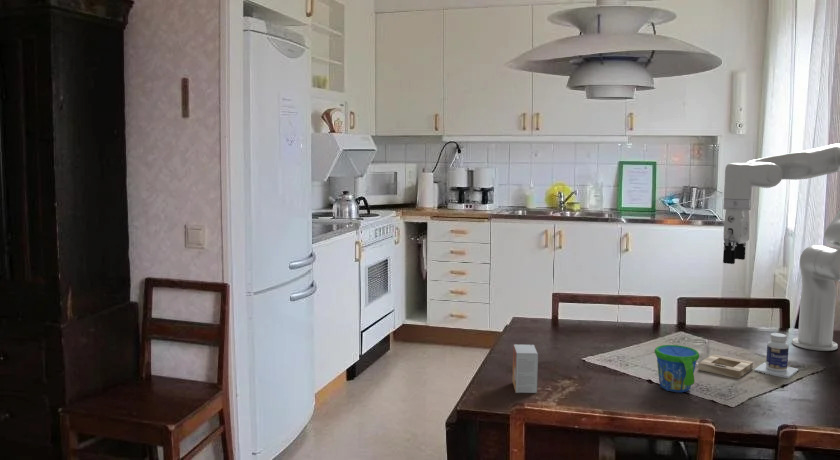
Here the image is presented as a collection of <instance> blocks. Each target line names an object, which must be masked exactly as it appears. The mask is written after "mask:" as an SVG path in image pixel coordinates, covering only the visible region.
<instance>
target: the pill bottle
mask: <svg viewBox="0 0 840 460" xmlns="http://www.w3.org/2000/svg"><path fill="white" fill-rule="evenodd" d="M786 341H787V335H786V334H783V333H780V332H778V333H777V332H772V333H770V341H768V342H767V346H766V360H765V361H766V368H768V369H770V370H773V371H786V370H787V367H788V361H789V348H790V346H789V343H788V342H786Z"/></svg>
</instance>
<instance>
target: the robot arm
mask: <svg viewBox="0 0 840 460" xmlns="http://www.w3.org/2000/svg"><path fill="white" fill-rule="evenodd" d="M834 173H840V143H833V144H832V143H831V144H828V145H824V146H820V147H816V148H810V149H805V150H802V151H801V150H800V151H795V152H789V153H784V154H778V155H774V156H765V157H762V158H757V159H752V160H748V161H746V162H732V163H731V162H730V163H728V164H726V166H725V170H724V186H723V188H724V190H723V206H722V207H723V208H722V209H723V210H725V213H724V214H725V215H724V221H723V222H724V224H723V260H722V263H723V264H730V265H734V264H735V263H736V260H741V261H743V260H745V259H746V247H747V246H746V245H747V244H746V243H747V242H748V241H749V240H750V211H752V210H751V208H752V207H751V206H752V189H753V187H754V188H761V189H763V188H764V189H770V188H774V187H776V186H778V185H779V184H780V183H781V181H782V180H795V181H797V180H808V179H813V178H816V177H821V176H825V175H831V174H834ZM823 238H824V239H825V241H826V243H827V244H829V245H830V246H828V245H824V244H823V245H821V244H813V245H809V246H807V247H806V248H804V249H803V251H802V252H801V254H800V256H799V269H800V275H801V277H800V278H801V291H800V303H799V304H800V305H799V316H798V317H799V319H798V331H797V336H796V337H793V338H792V339H791V343H792V344H793V345H794V346H796V347H799V348H801V349H806V350H811V351H818V352H819V351H820V352H830V351H831V352H832V351H835V350H837V349H838V346H839V344H838V343H837V342H835V341H833V340H834V339H833V338H834V327H835V326H834V323H835V313H836V312H835V311H836V302H837V301H836V300H837V287H836V286H837V285H836V283H835V282H840V210H839V211H838V212H837V214H836V215H835V216H834V217H833V219H832V220H831V221H830V223H829V224H828V226H827V227H826V228H825V231H824V237H823Z"/></svg>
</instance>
